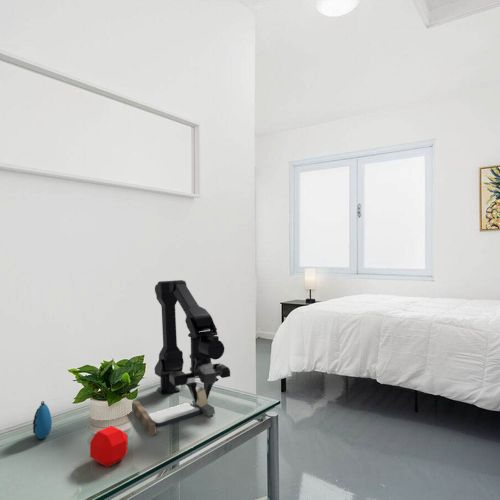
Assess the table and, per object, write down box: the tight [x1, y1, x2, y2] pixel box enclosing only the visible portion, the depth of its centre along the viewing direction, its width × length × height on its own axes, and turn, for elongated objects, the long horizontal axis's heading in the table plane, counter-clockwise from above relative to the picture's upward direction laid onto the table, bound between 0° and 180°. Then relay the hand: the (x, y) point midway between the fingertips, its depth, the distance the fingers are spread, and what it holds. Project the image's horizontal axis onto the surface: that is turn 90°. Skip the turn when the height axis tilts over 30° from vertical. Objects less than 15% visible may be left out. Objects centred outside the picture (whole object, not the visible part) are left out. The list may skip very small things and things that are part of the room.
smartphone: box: [148, 402, 202, 428], centre depth 135 cm, size 9×2×16 cm
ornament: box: [32, 400, 53, 440], centre depth 120 cm, size 8×5×10 cm, turn 18°
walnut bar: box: [133, 400, 156, 437], centre depth 130 cm, size 20×2×3 cm, turn 28°
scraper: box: [191, 386, 216, 417], centre depth 138 cm, size 10×2×7 cm, turn 34°
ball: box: [89, 425, 129, 468], centre depth 107 cm, size 8×8×8 cm
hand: (200, 401), depth 138 cm, fingers closed on scraper, 3 cm apart
